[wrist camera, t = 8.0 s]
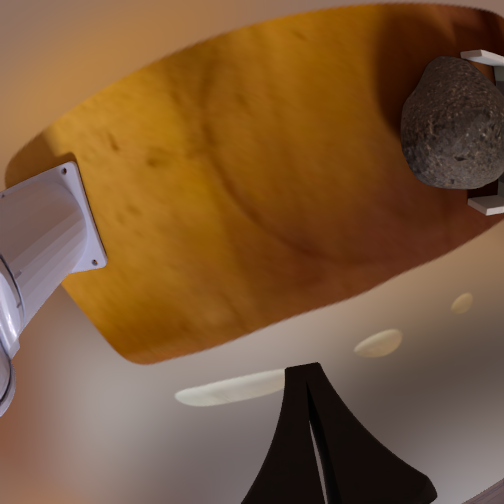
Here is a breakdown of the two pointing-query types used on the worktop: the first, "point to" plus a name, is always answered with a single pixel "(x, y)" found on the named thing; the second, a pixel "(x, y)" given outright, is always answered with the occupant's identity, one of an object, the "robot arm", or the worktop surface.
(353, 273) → the worktop surface
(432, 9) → the worktop surface
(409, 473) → the robot arm
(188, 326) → the worktop surface
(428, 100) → the stone
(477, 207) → the digital alarm clock
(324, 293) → the worktop surface
